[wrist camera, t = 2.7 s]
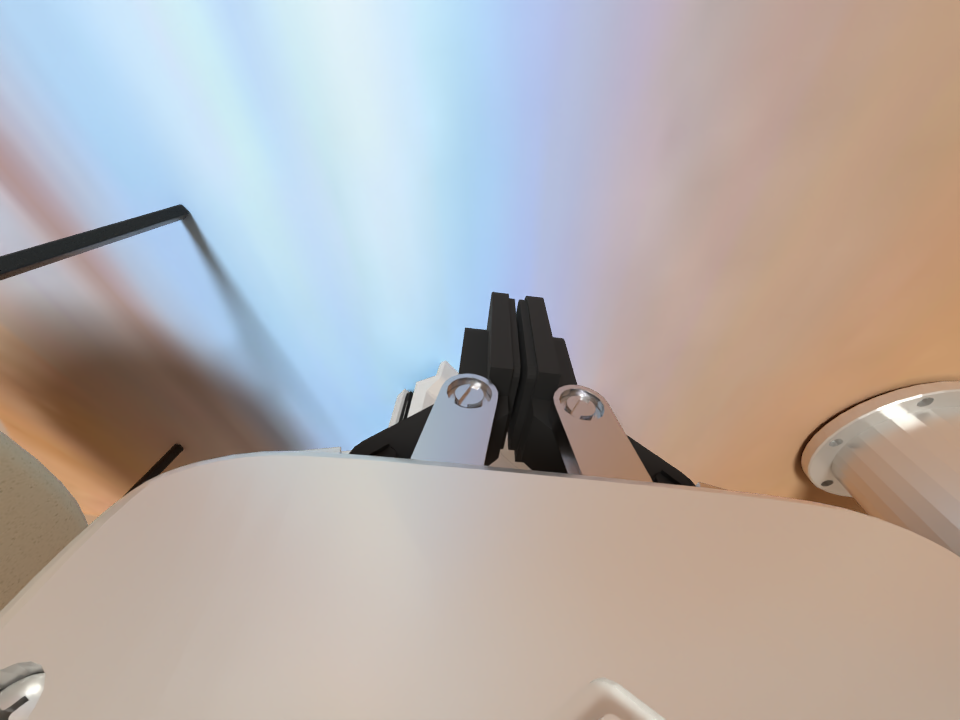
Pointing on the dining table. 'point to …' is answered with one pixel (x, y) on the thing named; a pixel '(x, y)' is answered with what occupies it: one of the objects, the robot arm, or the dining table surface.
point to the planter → (21, 477)
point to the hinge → (427, 396)
